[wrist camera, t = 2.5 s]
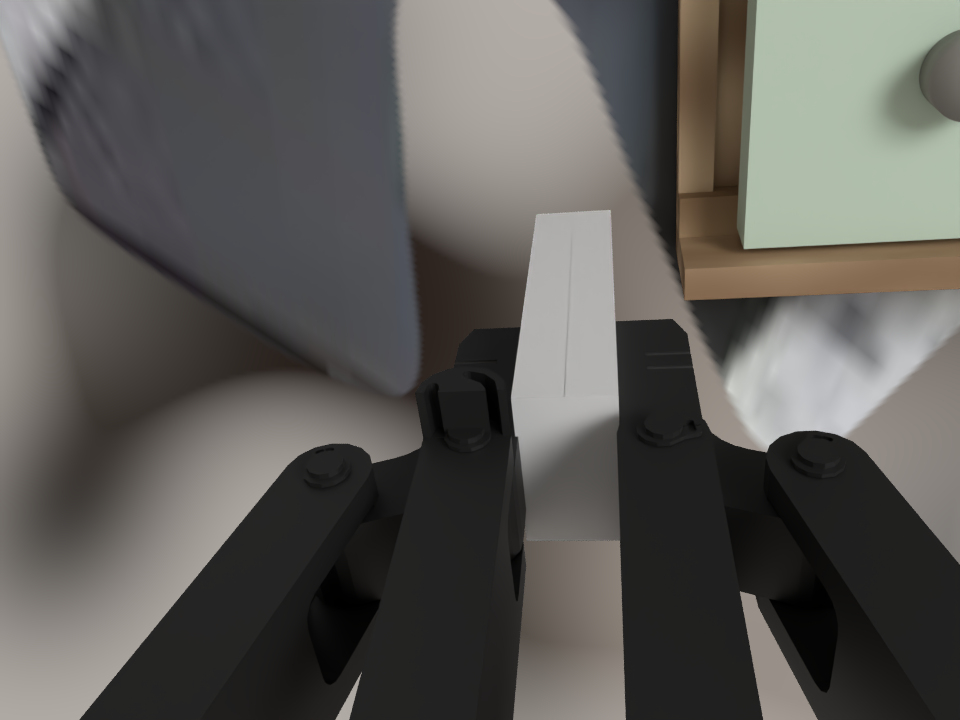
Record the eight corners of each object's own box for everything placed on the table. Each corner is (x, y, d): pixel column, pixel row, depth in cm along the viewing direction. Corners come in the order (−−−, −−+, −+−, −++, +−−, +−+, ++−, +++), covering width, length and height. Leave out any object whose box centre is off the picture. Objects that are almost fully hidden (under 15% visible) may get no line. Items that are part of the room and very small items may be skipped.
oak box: (679, -176, 26) (691, -171, 23) (1285, -251, 24) (1398, -258, 20) (675, 249, 34) (684, 300, 30) (1135, 226, 31) (1200, 278, 28)
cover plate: (753, -123, 25) (770, -113, 23) (1216, -176, 23) (1289, -171, 21) (736, 227, 31) (748, 265, 29) (1106, 207, 29) (1153, 245, 27)
